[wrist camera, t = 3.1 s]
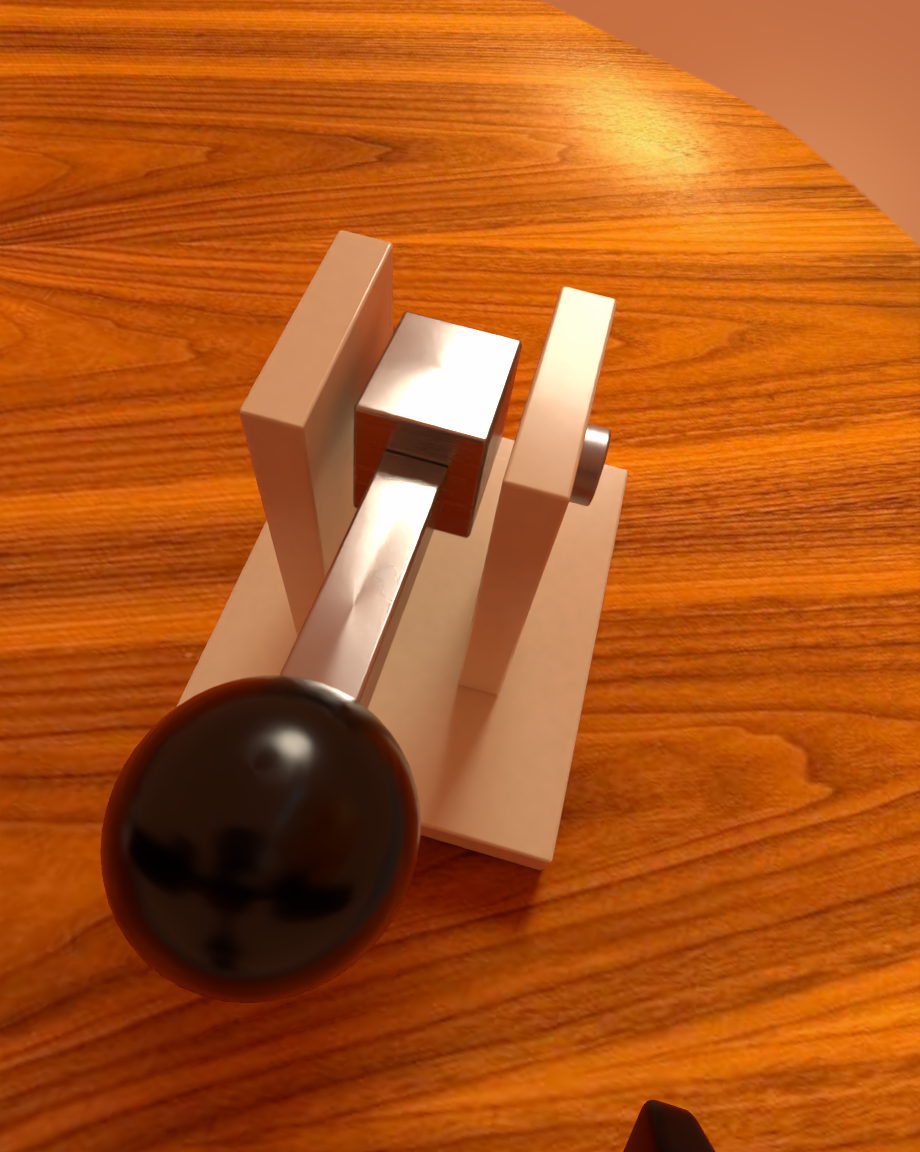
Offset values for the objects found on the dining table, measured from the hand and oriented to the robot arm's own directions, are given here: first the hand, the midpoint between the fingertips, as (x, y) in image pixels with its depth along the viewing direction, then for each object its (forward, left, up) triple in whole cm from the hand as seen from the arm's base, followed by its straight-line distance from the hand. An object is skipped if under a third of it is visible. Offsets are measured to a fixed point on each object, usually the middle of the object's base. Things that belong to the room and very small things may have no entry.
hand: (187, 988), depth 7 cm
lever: (+4, -2, -3) cm, 6 cm away
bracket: (+8, -4, -9) cm, 13 cm away
